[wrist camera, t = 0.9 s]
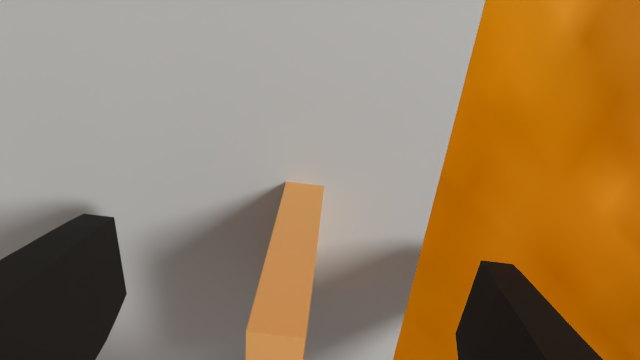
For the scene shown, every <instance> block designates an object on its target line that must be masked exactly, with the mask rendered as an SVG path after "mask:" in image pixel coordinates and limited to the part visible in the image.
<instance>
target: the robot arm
mask: <svg viewBox="0 0 640 360" xmlns="http://www.w3.org/2000/svg"><path fill="white" fill-rule="evenodd" d="M126 295H127V292H126V286H125V280H124V274H123V268H122V262H121V256H120V250H119V244H118V238H117V232H116V226H115V220H114V217H108V216H100V215H91V214H82V215H80V216H78V217H76V218H74V219H72V220H70V221H68V222H66V223H64V224H62V225H61V226H59V227H57V228H55V229H53V230H52V231H50V232H48V233H46V234H45V235H43V236H41V237H39V238H38V239H36V240H34V241H32V242H31V243H29V244H27V245H25V246H24V247H22V248H20V249H18V250H17V251H15V252H13V253H11V254H10V255H8V256H6V257H4V258H2V259H1V260H0V360H95V359H96V358H97V356H98V354H99V353H100V351H101V349H102V347H103V346H104V344H105V342H106V340H107V338H108V336H109V334H110V332H111V330H112V327H113V325H114V323H115V321H116V318H117V316H118V314H119V311H120V309H121V307H122V304H123V302H124V299H125V297H126ZM456 341H457V351H458V360H603V359H602V358H601V357H600V356H599V355H598V354H597V353H596V352H595V351H594V350H593V349H592V348H591V347H590V346H589V345H588V344H587V343H586V342H585V341H584V340H583V339H582V338H581V337H580V335H579V334H578V333H577V332H576V331H575V330H574V329H573V328H572V327H571V326H570V325H569V324H568V323H567V322H566V321H565V319H564V318H563V317H562V316H561V315H560V314H559V313H558V312H557V311H556V310H555V309H554V308H553V307H552V305H551V304H550V303H549V302H548V301H547V300H546V299H545V298H544V297H543V296H542V295H541V293H540V292H539V291H538V290H537V289H536V288H535V287H534V286H533V285H532V284H531V283H530V282H529V280H528V279H527V278H526V277H525V276H524V275H523V274H522V273H521V272H520V271H519V270H518V269H517V268H516V267H515V266H514V265H513V264H505V263H497V262H489V261H481V263H480V266H479V268H478V271H477V274H476V277H475V280H474V283H473V286H472V289H471V291H470V294H469V297H468V300H467V303H466V306H465V309H464V311H463V314H462V317H461V320H460V323H459V326H458V329H457V331H456Z"/></svg>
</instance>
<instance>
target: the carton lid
mask: <svg viewBox="0 0 640 360" xmlns="http://www.w3.org/2000/svg"><path fill="white" fill-rule="evenodd" d="M484 4H485V0H0V260H1V259H2V258H4V257H6V256H8V255H10V254H11V253H13V252H15V251H17V250H18V249H20V248H22V247H24V246H25V245H27V244H29V243H31V242H32V241H34V240H36V239H38V238H39V237H41V236H43V235H45V234H46V233H48V232H50V231H52V230H53V229H55V228H57V227H59V226H61V225H62V224H64V223H66V222H68V221H70V220H72V219H74V218H76V217H78V216H80V215H82V214H91V215H100V216H108V217H114V220H115V226H116V232H117V238H118V244H119V250H120V256H121V262H122V268H123V274H124V280H125V286H126V292H127V295H126V297H125V299H124V302H123V304H122V307H121V309H120V311H119V314H118V316H117V318H116V321H115V323H114V325H113V327H112V330H111V332H110V334H109V336H108V338H107V340H106V342H105V344H104V346H103V347H102V349H101V351H100V353H99V354H98V356H97V358H96V359H95V360H393V357H394V353H395V349H396V345H397V341H398V337H399V334H400V330H401V326H402V322H403V318H404V314H405V310H406V306H407V303H408V299H409V295H410V291H411V287H412V283H413V279H414V275H415V271H416V268H417V264H418V260H419V256H420V252H421V248H422V244H423V240H424V237H425V233H426V229H427V225H428V221H429V217H430V213H431V209H432V205H433V202H434V198H435V194H436V190H437V186H438V182H439V178H440V174H441V171H442V167H443V163H444V159H445V155H446V151H447V147H448V143H449V139H450V136H451V132H452V128H453V124H454V120H455V116H456V112H457V108H458V105H459V101H460V97H461V93H462V89H463V85H464V81H465V77H466V73H467V70H468V66H469V62H470V58H471V54H472V50H473V46H474V42H475V39H476V35H477V31H478V27H479V23H480V19H481V15H482V11H483V7H484Z"/></svg>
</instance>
